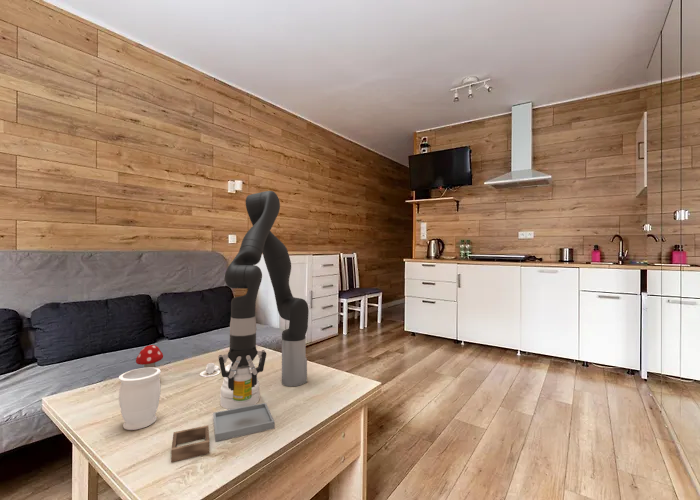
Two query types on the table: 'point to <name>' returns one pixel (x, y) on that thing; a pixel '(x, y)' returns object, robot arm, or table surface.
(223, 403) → the honey pot
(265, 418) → the tray
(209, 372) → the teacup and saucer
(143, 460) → the table surface
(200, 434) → the holder
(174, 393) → the table surface
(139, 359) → the decorative mushroom
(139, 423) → the jar
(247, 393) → the supplement bottle
